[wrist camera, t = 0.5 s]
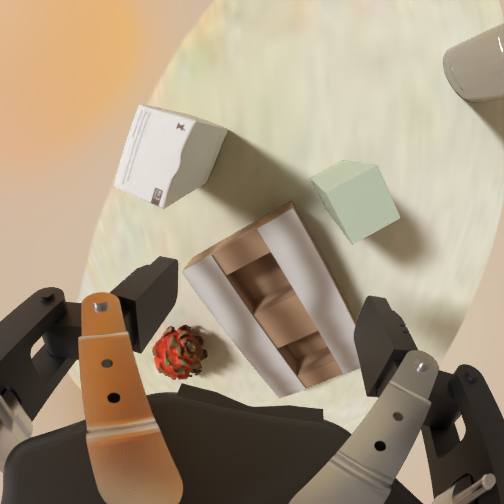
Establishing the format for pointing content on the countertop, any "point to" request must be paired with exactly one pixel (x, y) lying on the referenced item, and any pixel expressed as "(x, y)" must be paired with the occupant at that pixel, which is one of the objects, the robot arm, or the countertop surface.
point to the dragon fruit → (179, 353)
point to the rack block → (278, 302)
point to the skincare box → (167, 155)
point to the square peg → (356, 198)
